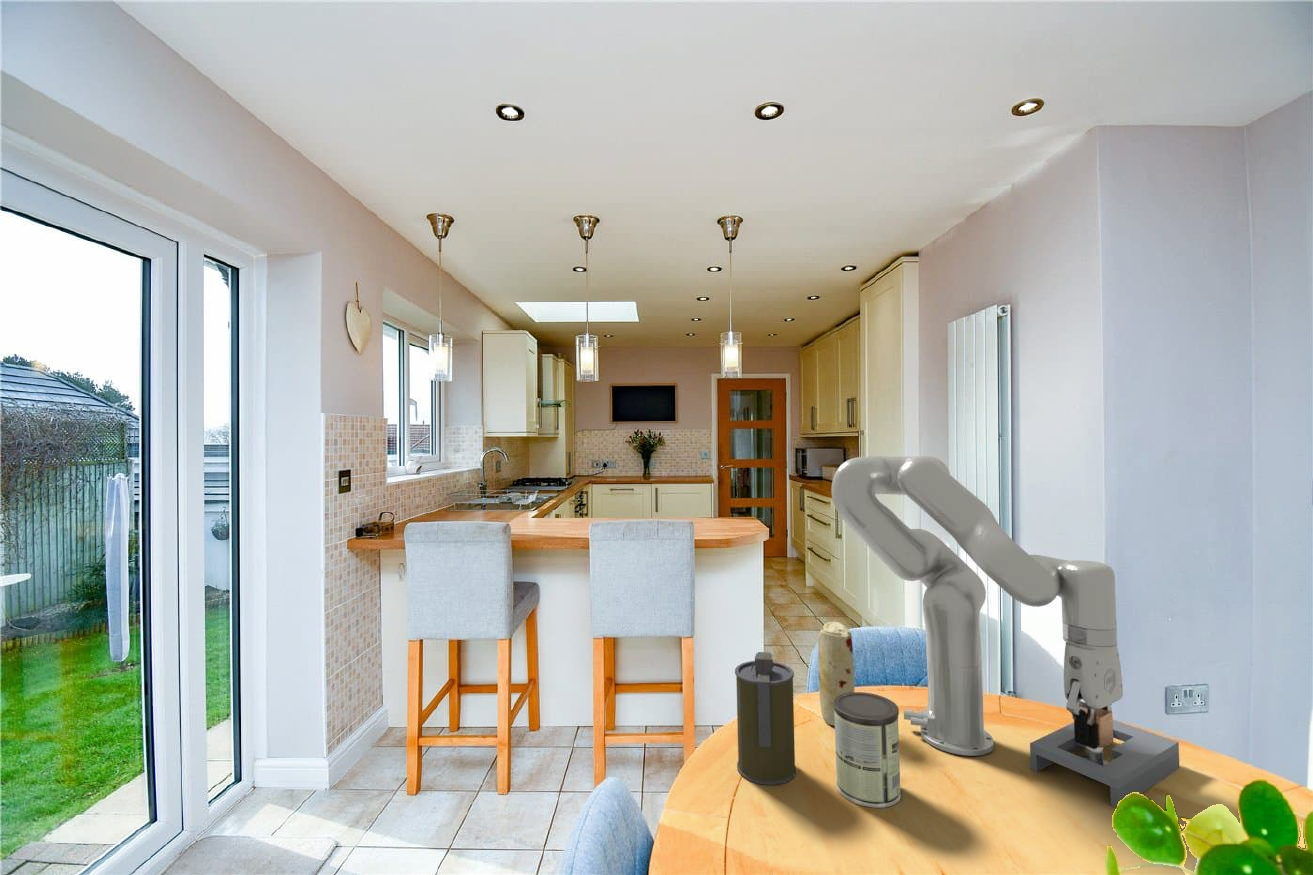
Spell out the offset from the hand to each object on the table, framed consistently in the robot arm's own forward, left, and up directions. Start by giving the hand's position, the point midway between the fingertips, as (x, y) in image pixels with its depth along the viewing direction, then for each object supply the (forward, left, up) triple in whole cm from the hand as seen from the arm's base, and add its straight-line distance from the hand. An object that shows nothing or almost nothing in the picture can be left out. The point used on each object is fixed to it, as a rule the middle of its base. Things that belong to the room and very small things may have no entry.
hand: (1093, 740), depth 99 cm
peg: (0, 0, -5) cm, 5 cm away
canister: (-53, -18, -6) cm, 56 cm away
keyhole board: (+2, +3, -6) cm, 7 cm away
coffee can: (-36, -18, -6) cm, 40 cm away
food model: (-43, +5, -6) cm, 43 cm away
